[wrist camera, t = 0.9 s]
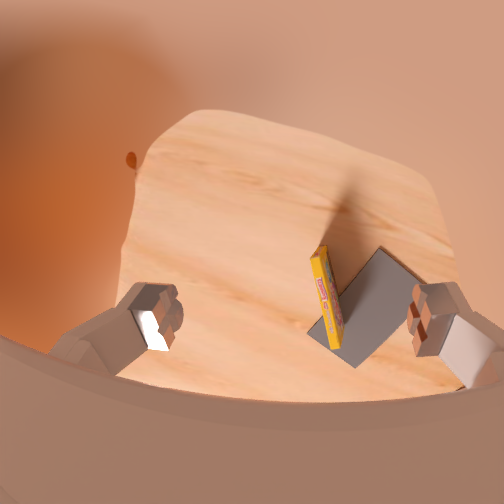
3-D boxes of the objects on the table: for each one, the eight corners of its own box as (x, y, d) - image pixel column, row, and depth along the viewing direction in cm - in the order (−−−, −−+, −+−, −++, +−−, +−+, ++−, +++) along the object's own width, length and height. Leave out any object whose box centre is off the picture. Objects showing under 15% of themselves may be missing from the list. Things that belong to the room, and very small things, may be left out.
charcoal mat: (430, 290, 46) (431, 291, 45) (355, 367, 55) (355, 368, 54) (379, 247, 47) (379, 248, 47) (307, 332, 57) (306, 333, 56)
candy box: (346, 326, 53) (340, 349, 45) (336, 328, 54) (328, 350, 46) (328, 244, 51) (320, 256, 43) (317, 246, 52) (306, 258, 44)
